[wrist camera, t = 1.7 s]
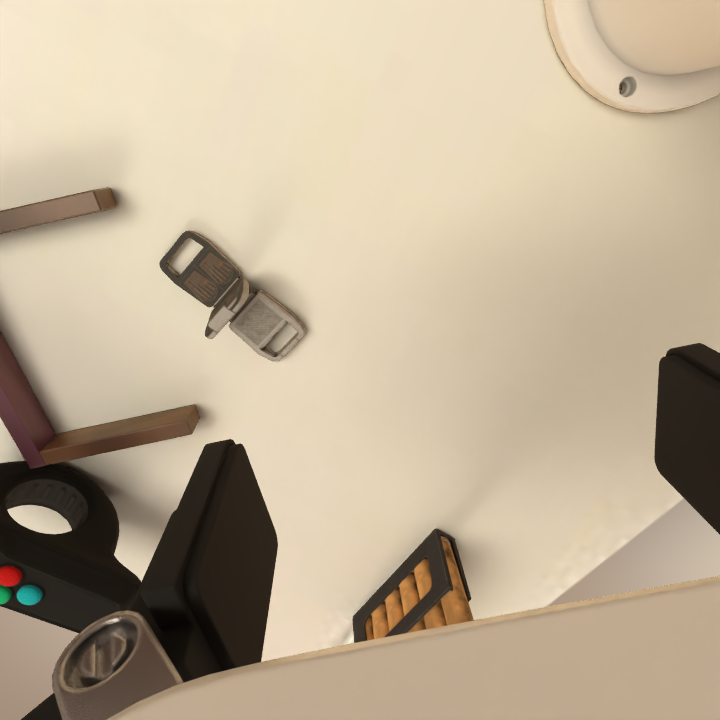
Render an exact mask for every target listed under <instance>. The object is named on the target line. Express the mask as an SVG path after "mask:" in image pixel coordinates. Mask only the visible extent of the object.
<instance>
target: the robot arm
mask: <svg viewBox="0 0 720 720" xmlns="http://www.w3.org/2000/svg"><path fill="white" fill-rule="evenodd" d="M544 5H545V11H546V17H547V23H548V29H549V31H550V34H551V37H552V40H553V43H554V45H555V48H556V51H557V54H558V55H559V57H560V59H561V60H562V62H563V64H564V65H565V67H566V69H567V70H568V72H569V74H570V75H571V76H572V77H573V78H574V79H575V80H576V81H577V82H578V83H579V85H580V86H581V87H582V88H583V89H584V90H585V91H586V92H588V93H589V94H591V95H592V96H594V97H595V98H597V99H598V100H600V101H601V102H603V103H604V104H607V105H610V106H613V107H616V108H618V109H621V110H624V111H630V112H640V113H654V112H666V111H672V110H677V109H681V108H686V107H690V106H694V105H696V104H698V103H701V102H703V101H705V100H708V99H710V98H712V97H715V96H717V95H718V94H720V0H544ZM620 84H621V86H622V91H621V92H619V86H620ZM654 457H655V464H656V466H657V469H658V471H659V472H660V474H661V475H662V476H663V477H664V478H665V479H666V480H667V481H668V482H669V483H670V484H671V485H672V486H673V487H674V488H675V489H676V490H677V491H678V492H679V493H680V494H681V495H682V496H683V497H684V498H685V499H686V500H687V501H688V502H689V504H691V506H692V507H693V508H694V509H695V510H696V511H697V512H698V513H699V514H700V515H701V516H702V517H703V518H704V519H705V520H706V521H707V522H708V523H709V524H710V525H711V526H712V527H713V528H714V529H715V530H716V531H717V532H718V533H719V534H720V353H718V352H717V351H715V350H713V349H711V348H709V347H707V346H706V345H704V344H701V343H697V344H692V345H687V346H682V347H677V348H672V349H670V350H669V351H668V352H667V354H666V357H663V358H661V360H660V363H659V378H658V397H657V417H656V437H655V456H654ZM277 548H278V542H277V535H276V531H275V529H274V526H273V523H272V521H271V518H270V515H269V512H268V510H267V507H266V504H265V502H264V499H263V496H262V494H261V491H260V488H259V486H258V483H257V480H256V478H255V475H254V472H253V469H252V467H251V464H250V461H249V459H248V456H247V453H246V451H245V448H244V446H243V445H242V444H235V442H234V441H233V440H231V439H229V440H224V441H219V442H214V443H209V444H206V445H205V447H204V448H203V451H202V453H201V455H200V458H199V460H198V462H197V464H196V467H195V469H194V471H193V474H192V476H191V478H190V481H189V483H188V485H187V487H186V490H185V492H184V494H183V497H182V499H181V501H180V503H179V506H178V508H177V510H175V511H174V512H173V514H172V515H171V517H170V519H169V522H168V524H167V526H166V528H165V531H164V533H163V535H162V537H161V540H160V542H159V544H158V546H157V549H156V551H155V553H154V555H153V558H152V560H151V562H150V564H149V567H148V569H147V571H146V573H145V576H144V578H143V580H142V582H141V585H140V587H139V589H138V591H137V594H136V596H135V598H134V600H133V603H132V605H131V607H130V609H129V611H120V612H115V613H113V614H110V615H107V616H104V617H102V618H101V619H99V620H97V621H96V622H94V623H92V624H91V625H89V626H88V627H87V628H85V629H84V630H83V631H82V632H81V633H79V634H78V635H77V636H76V637H75V638H74V639H73V640H72V641H71V643H70V644H69V645H68V646H67V647H66V648H65V650H64V651H63V653H62V654H61V656H60V658H59V659H58V661H57V663H56V666H55V669H54V672H53V675H52V686H53V691H54V693H53V694H52V695H51V696H49V697H48V698H47V699H46V700H44V701H43V702H42V703H41V704H39V705H38V706H37V707H36V708H35V709H33V710H32V711H31V712H30V713H28V714H27V715H26V716H25V717H24V718H22V719H21V720H720V576H717V577H711V578H705V579H699V580H694V581H688V582H682V583H677V584H671V585H666V586H660V587H654V588H649V589H643V590H638V591H632V592H627V593H621V594H616V595H610V596H605V597H600V598H594V599H589V600H583V601H577V602H572V603H566V604H561V605H555V606H550V607H544V608H539V609H534V610H528V611H523V612H517V613H512V614H506V615H501V616H496V617H490V618H485V619H479V620H474V621H469V622H463V623H458V624H453V625H447V626H442V627H437V628H432V629H426V630H421V631H416V632H410V633H405V634H400V635H395V636H389V637H384V638H379V639H373V640H368V641H363V642H358V643H352V644H347V645H342V646H337V647H332V648H327V649H322V650H317V651H312V652H307V653H302V654H298V655H293V656H288V657H283V658H278V659H273V660H269V661H264V662H261V658H262V651H263V644H264V637H265V631H266V624H267V617H268V610H269V603H270V596H271V590H272V583H273V576H274V569H275V562H276V556H277Z"/></svg>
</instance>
